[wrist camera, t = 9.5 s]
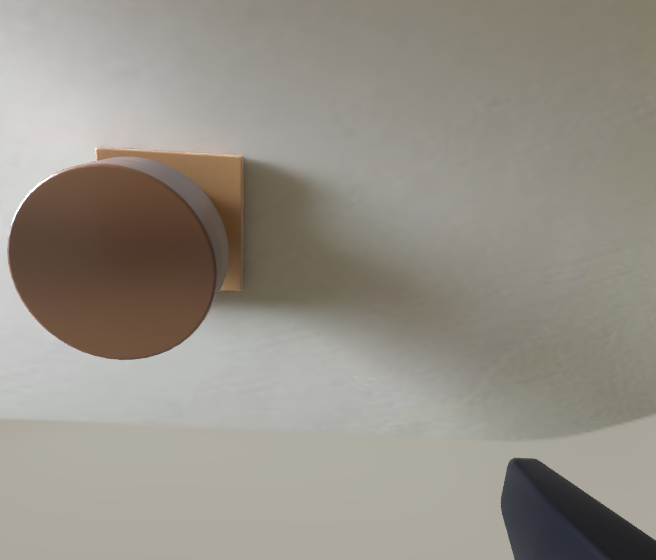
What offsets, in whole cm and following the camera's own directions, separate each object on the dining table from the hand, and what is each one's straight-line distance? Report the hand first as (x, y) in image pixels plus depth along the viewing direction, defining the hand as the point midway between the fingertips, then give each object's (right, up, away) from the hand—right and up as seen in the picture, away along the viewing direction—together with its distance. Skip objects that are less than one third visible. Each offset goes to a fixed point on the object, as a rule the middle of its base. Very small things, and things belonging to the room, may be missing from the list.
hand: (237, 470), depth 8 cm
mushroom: (-4, +5, +10) cm, 12 cm away
